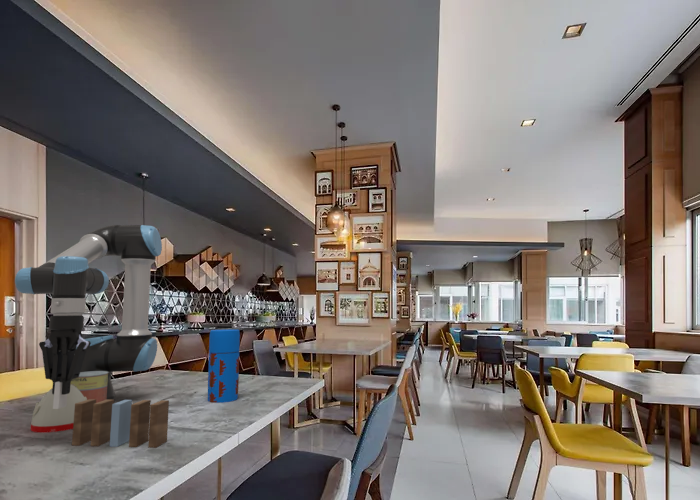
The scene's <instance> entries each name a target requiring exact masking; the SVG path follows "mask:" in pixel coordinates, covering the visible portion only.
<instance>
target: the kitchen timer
mask: <svg viewBox="0 0 700 500" xmlns="http://www.w3.org/2000/svg"><path fill="white" fill-rule="evenodd" d="M85 400H87V398H86V397H84V396H83V394H82V393H81V392H80V391H79V390H78V389H77V388H76V387H75V386H73V385H70V392H69V394H67V405H66V407H63V408H59V409H53V401H54V394H52V388H51V389H49V390H48V391H47V392H46V393H45V394H44V395H43V397H42V398H41V400H40V401H36V403H35V407H34V410H33V412H32V418H31V422H30V431H31V432H33V433H40V434H41V433H44V434H45V433H57V432H64V431H69V430H73V423H74V410H75V403H79V402H82V401H85Z"/></svg>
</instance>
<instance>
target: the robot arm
mask: <svg viewBox="0 0 700 500" xmlns="http://www.w3.org/2000/svg"><path fill="white" fill-rule="evenodd" d="M162 243H163V242H162V238H161V234H160V232H159V230H158V229H157V227H155V226H154V225H145V224H130V225H129V224H112V225H107V226H106V225H105V226H103V227H100V228H97V229H95V230H92V231H90V232H88V233H86V234H84V235H83V236H82V237H80V239H79V242H77V243H75V244H73V245H71V247H69V248H68V249H66V250H64V251H62V252H61V253H59V254H57V255H55V256H54V257H52V258H51V259H49V260H48V261H46V262H44V263H43V264H41V265H40V266H38V267H33V266H30V267H22V268H21V269H19V270H18V271H17V273H16V275H15V278H14V284H15V288H16V289H17V291H18V292H19V293H21V294H27V295H28V294H29V295H52V296H51V304H50V313H51V314H52V315H51V316H50V317H49V325H48V329H49V330H50V333H49V335H48V338H47V339H46V340H44V341H40V342H39V343H38V345H39V347H40V349H41V351H42V353H41V354H42V360H43V361H42V362H43V367H44V368H43V369H44V375H45V379H46V380H51V381H52V388H51V389H52V394H54V401H53V409H59V408H63V407H66V405H67V394H69V392H70V385H71V380H72V379H75V378H78V377H79V374H80V372H87V371H108V372H109V373H108V383H107V398H106V400H114V401H115V398H116V393H115V390H114V387H113V383H112V380H111V376H112V372H113V373H114V372H115V373H116V372H118V373H119V372H135V373H136V372H143V371H147V370H149V369H150V368H152V365H153V363H154V361H155V359H156V356H157V351H158V341H157V339H156V338H155V337H154V338H153V332H152V331H150V330H149V311H150V309H149V308H150V292H151V289H150V288H151V287H150V286H151V273H152V272H151V270H152V265H153V264H155V263H156V257H159V256H161V253H162V248H163V247H162V245H163V244H162ZM107 256H114V257H115V256H116V257H120V258H121V259H120V261H121V262H122V263H123V264H124V265H125V266H124V268H125V269H124V270H125V271H124V284H123V285H124V286H123V287H124V288H123V302H122V303H123V305H122V319H121V320H122V323H121V330H120V331H119V332H118V333H117V334H116V338H114V335H113V334H112V335H111V334H110V335H103V336H102V335H101V336H97V337H96V336H95V337H89V338H83V337H84V336H83V334H82V330H83V329H84V323H85V322H84V321H85V316H84V315H83V314H85V312H86V311H85V309H86V298H87V297H86V295H98V294H101V293H103V292H105V290H106V289H107V288H108V286H109V284H110V280H109V276H108V275H107V273H106V272H105V271H103V270H101V269H99V268H95V267H89V264H90V263H92V262H93V261H94V260H100V259H102V258H104V257H107Z"/></svg>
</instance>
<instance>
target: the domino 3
mask: <svg viewBox="0 0 700 500" xmlns="http://www.w3.org/2000/svg"><path fill="white" fill-rule="evenodd" d="M132 404H133V399H123V400H120V401H117V402H114V404H112V417H111V433H110V441H109V447H111V448H112V447H113V448H118V447H120V446H122V445H124V444H125V443H129V436H130V419H131V405H132Z"/></svg>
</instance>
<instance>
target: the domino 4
mask: <svg viewBox="0 0 700 500" xmlns="http://www.w3.org/2000/svg"><path fill="white" fill-rule="evenodd" d="M151 401H152V400H150V399H142V400H139V401H137V402H135V403H132V405H131V419H130V436H129V441H128V448H138V447H140V446H142V445H144V444H145V443H147V442H149V423H150V405H151Z"/></svg>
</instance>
